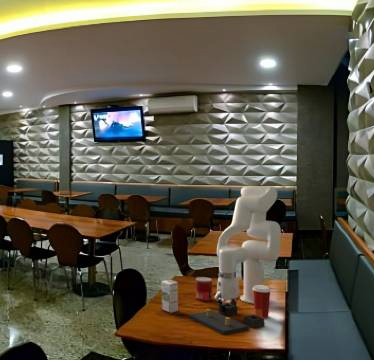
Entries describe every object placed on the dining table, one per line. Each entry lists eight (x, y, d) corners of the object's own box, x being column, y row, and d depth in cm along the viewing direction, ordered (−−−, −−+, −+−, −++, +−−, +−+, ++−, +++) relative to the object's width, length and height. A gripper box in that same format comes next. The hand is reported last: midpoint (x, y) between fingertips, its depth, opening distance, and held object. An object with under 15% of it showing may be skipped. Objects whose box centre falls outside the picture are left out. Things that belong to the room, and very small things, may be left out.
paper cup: (269, 314, 211) (269, 285, 211) (271, 320, 204) (272, 290, 203) (251, 312, 214) (251, 284, 213) (253, 318, 207) (253, 288, 206)
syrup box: (178, 310, 218) (178, 281, 217) (169, 313, 215) (169, 283, 214) (169, 307, 223) (169, 279, 222) (161, 309, 220) (161, 281, 219)
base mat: (212, 313, 214) (212, 304, 213) (248, 329, 193) (248, 319, 193) (189, 317, 209) (189, 308, 208) (223, 334, 188) (223, 324, 188)
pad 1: (228, 309, 217) (228, 302, 217) (237, 313, 212) (237, 306, 211) (218, 311, 215) (218, 304, 215) (227, 315, 209) (227, 308, 209)
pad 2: (253, 322, 202) (253, 314, 202) (264, 326, 196) (264, 318, 196) (243, 323, 200) (243, 316, 200) (254, 328, 194) (254, 320, 194)
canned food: (213, 301, 231) (213, 281, 230) (196, 301, 232) (196, 280, 232) (210, 297, 238) (210, 277, 238) (195, 296, 240) (195, 276, 239)
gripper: (219, 279, 206) (219, 317, 207) (247, 274, 212) (247, 311, 213) (207, 275, 213) (208, 311, 214) (235, 270, 219) (235, 306, 220)
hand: (227, 311), depth 213 cm, fingers closed on pad 1, 6 cm apart
